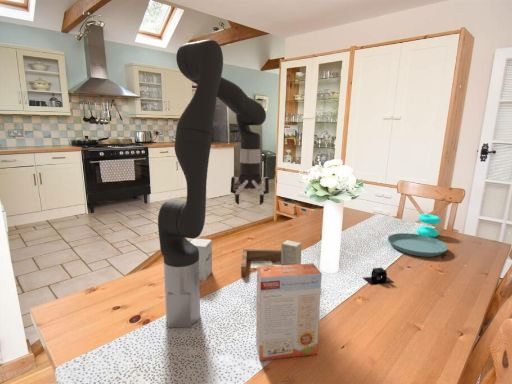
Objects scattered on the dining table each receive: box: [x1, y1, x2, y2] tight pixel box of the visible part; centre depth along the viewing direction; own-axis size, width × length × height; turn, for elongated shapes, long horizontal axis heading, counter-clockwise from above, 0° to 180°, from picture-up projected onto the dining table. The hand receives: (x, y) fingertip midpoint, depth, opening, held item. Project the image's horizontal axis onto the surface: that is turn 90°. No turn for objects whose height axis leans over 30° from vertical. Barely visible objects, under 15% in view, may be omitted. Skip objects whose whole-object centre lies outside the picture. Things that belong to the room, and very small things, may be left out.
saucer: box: [387, 232, 448, 258], centre depth 138 cm, size 24×24×3 cm
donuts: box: [416, 213, 442, 238], centre depth 156 cm, size 10×10×10 cm
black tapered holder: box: [362, 267, 395, 286], centre depth 107 cm, size 12×7×5 cm, turn 103°
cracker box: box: [255, 263, 322, 361], centre depth 71 cm, size 14×6×21 cm, turn 99°
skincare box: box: [280, 239, 302, 265], centre depth 110 cm, size 6×4×12 cm
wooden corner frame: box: [240, 248, 282, 278], centre depth 115 cm, size 16×19×4 cm
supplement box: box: [189, 238, 213, 282], centre depth 107 cm, size 7×7×13 cm
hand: (249, 204), depth 114 cm, fingers open, 8 cm apart
